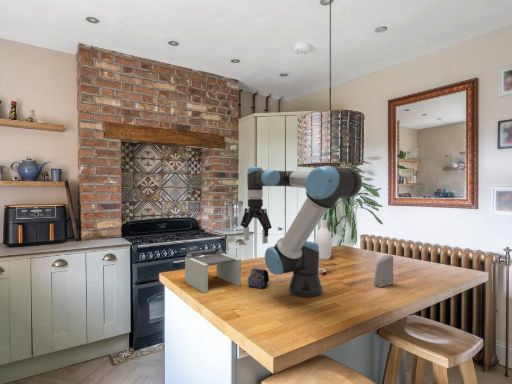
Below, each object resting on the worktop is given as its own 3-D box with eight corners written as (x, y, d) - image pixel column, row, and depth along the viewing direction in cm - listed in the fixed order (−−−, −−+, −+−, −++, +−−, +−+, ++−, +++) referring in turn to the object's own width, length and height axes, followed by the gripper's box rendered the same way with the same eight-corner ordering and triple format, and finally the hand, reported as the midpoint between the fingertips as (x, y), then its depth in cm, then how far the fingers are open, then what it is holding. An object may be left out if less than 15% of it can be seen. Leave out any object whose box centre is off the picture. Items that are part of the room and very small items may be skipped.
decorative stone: (381, 288, 148) (382, 257, 148) (371, 285, 153) (371, 255, 153) (395, 285, 154) (395, 254, 154) (384, 281, 159) (384, 252, 159)
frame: (240, 284, 152) (240, 256, 152) (203, 293, 140) (204, 262, 140) (219, 275, 168) (219, 249, 168) (185, 282, 156) (185, 254, 156)
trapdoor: (234, 270, 152) (234, 256, 152) (206, 275, 143) (206, 260, 143) (213, 261, 169) (213, 249, 169) (186, 266, 160) (186, 252, 160)
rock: (269, 284, 145) (260, 264, 148) (250, 293, 147) (242, 273, 150) (275, 282, 155) (266, 263, 158) (256, 290, 157) (249, 272, 160)
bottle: (333, 257, 214) (334, 220, 214) (328, 260, 205) (328, 221, 204) (318, 255, 220) (318, 219, 220) (312, 258, 211) (312, 220, 210)
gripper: (278, 198, 147) (279, 243, 147) (244, 198, 166) (245, 238, 166) (267, 198, 142) (267, 245, 142) (233, 198, 161) (234, 239, 161)
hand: (255, 241), depth 154 cm, fingers open, 13 cm apart
